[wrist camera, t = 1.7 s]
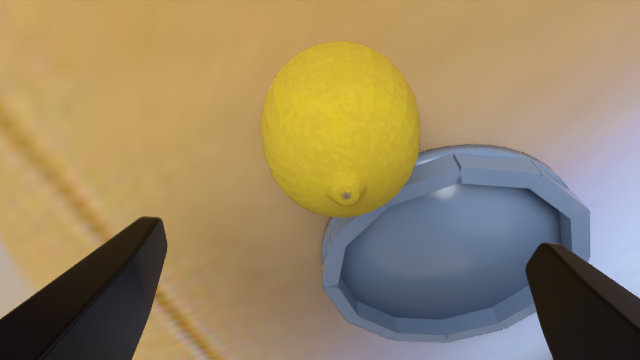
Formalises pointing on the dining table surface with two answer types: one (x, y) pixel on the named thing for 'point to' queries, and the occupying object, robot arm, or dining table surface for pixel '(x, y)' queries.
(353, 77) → the lemon
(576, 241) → the light blue round dish
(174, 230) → the dining table surface
